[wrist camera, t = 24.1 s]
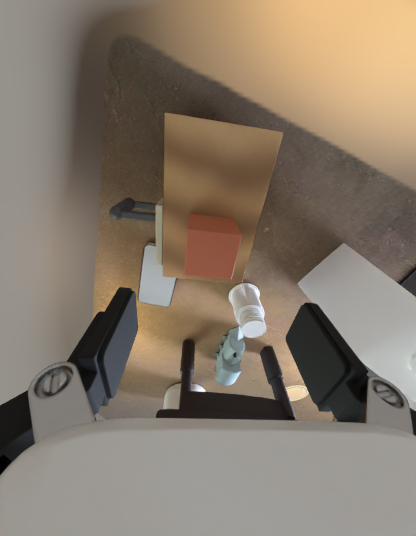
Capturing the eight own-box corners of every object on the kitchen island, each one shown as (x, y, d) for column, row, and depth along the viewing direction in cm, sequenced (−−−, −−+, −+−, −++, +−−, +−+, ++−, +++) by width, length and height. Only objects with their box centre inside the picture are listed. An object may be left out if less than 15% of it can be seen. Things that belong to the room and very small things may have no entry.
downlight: (258, 306, 46) (270, 342, 38) (228, 309, 46) (235, 344, 38) (260, 279, 42) (275, 312, 33) (227, 281, 42) (234, 315, 34)
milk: (328, 305, 47) (443, 445, 25) (296, 283, 43) (398, 426, 21) (374, 270, 42) (571, 407, 20) (343, 242, 38) (542, 372, 16)
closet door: (131, 182, 30) (100, 197, 21) (174, 188, 31) (162, 205, 21) (135, 230, 34) (109, 261, 25) (172, 234, 35) (162, 266, 25)
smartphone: (137, 301, 43) (144, 243, 35) (138, 298, 44) (145, 240, 36) (169, 308, 44) (183, 252, 37) (170, 304, 45) (183, 249, 38)
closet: (168, 126, 28) (141, 108, 15) (248, 139, 29) (283, 132, 16) (165, 232, 36) (147, 275, 24) (228, 239, 37) (242, 283, 25)
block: (190, 213, 20) (187, 228, 16) (234, 218, 20) (242, 235, 16) (186, 253, 22) (183, 275, 18) (226, 257, 23) (231, 279, 19)
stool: (158, 418, 29) (345, 434, 34) (175, 315, 47) (296, 336, 52) (147, 454, 37) (300, 462, 42) (164, 354, 55) (271, 369, 60)
